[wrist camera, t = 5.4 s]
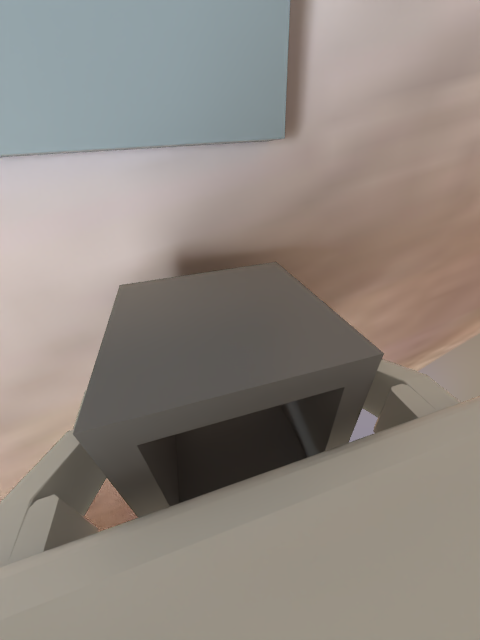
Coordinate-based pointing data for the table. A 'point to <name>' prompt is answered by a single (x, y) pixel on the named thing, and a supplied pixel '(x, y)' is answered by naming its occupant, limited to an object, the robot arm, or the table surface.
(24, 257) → the table surface
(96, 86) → the base
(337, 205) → the table surface
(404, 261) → the table surface
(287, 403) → the collar
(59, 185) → the table surface
